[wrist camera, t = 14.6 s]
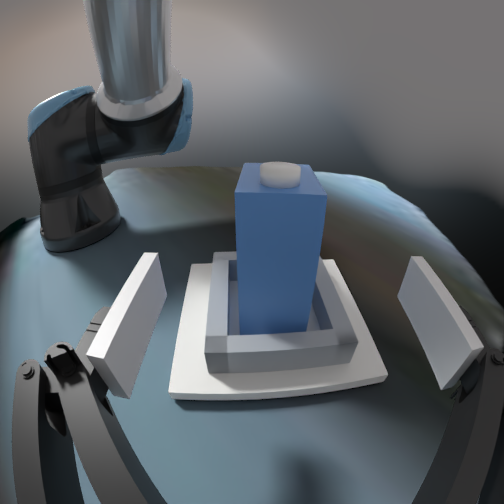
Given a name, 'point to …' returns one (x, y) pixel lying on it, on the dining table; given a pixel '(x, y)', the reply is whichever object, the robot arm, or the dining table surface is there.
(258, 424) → the dining table surface
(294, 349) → the white square socket base
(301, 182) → the blue drink carton
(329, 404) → the dining table surface
